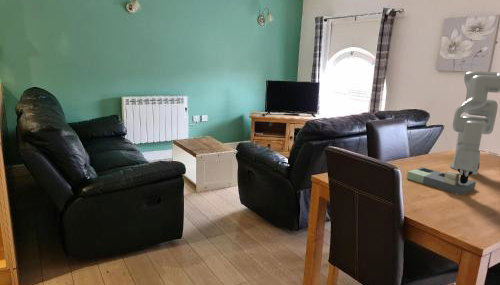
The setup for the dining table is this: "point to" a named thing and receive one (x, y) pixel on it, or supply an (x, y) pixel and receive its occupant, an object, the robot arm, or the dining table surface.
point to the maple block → (451, 177)
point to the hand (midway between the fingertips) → (463, 183)
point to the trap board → (439, 180)
